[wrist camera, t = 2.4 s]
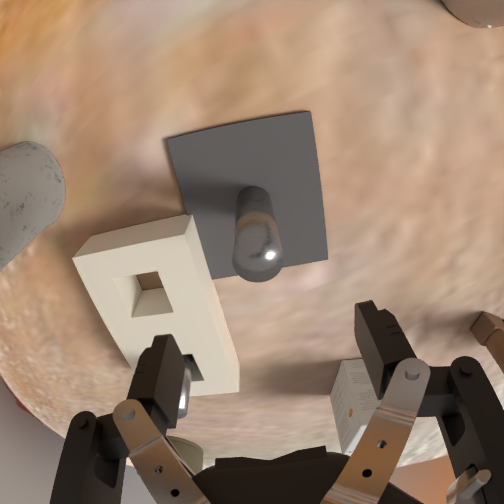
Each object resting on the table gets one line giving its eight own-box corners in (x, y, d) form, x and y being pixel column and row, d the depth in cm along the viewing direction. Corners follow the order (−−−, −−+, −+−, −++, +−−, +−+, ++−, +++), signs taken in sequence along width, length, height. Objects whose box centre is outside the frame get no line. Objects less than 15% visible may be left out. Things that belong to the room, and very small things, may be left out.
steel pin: (233, 189, 27) (227, 242, 18) (267, 183, 27) (279, 233, 18) (240, 221, 28) (238, 285, 19) (273, 215, 28) (286, 277, 19)
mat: (167, 139, 25) (166, 139, 25) (309, 111, 24) (310, 111, 24) (207, 278, 32) (206, 280, 31) (327, 257, 31) (328, 259, 30)
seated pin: (168, 332, 35) (151, 402, 26) (192, 330, 35) (180, 401, 26) (176, 350, 36) (163, 419, 28) (200, 348, 36) (191, 418, 28)
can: (197, 464, 54) (195, 492, 48) (141, 452, 52) (135, 479, 46) (210, 442, 49) (208, 475, 43) (144, 428, 47) (137, 460, 41)
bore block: (91, 235, 29) (71, 258, 25) (193, 212, 28) (184, 234, 24) (157, 371, 38) (151, 397, 34) (239, 363, 38) (239, 391, 34)
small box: (363, 391, 42) (381, 450, 33) (328, 394, 42) (341, 456, 33) (380, 355, 38) (404, 419, 29) (341, 358, 38) (360, 426, 29)
